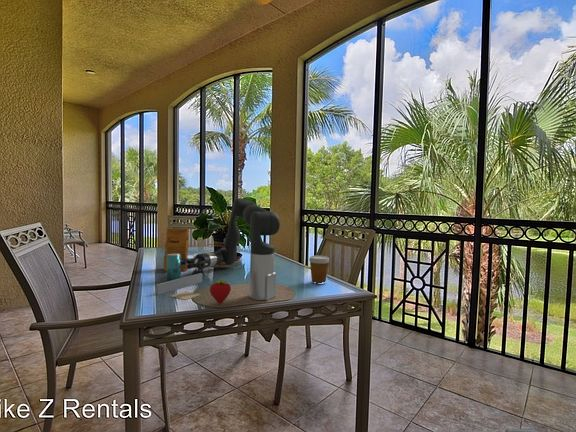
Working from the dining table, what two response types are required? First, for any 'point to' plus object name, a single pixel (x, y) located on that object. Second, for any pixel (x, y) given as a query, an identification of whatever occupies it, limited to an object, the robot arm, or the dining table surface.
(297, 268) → the dining table surface
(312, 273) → the glass of beer
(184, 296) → the coaster
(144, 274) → the dining table surface
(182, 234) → the coffee package
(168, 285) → the acrylic wall
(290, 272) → the dining table surface
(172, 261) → the can
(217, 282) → the strawberry
